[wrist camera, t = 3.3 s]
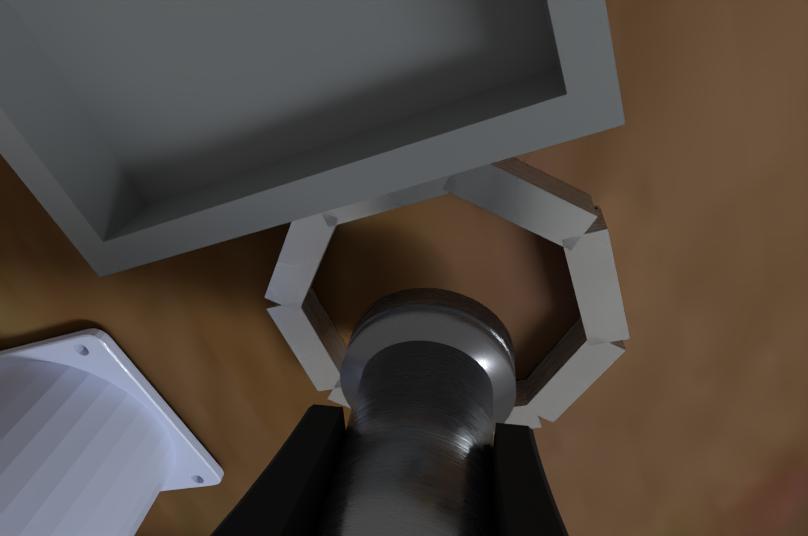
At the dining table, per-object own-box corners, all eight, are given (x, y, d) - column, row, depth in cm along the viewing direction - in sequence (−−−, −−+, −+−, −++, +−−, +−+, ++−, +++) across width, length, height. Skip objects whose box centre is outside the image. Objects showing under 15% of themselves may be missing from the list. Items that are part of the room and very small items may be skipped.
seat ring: (362, 426, 18) (355, 450, 17) (228, 203, 14) (211, 221, 13) (637, 387, 15) (644, 414, 15) (576, 92, 11) (583, 106, 10)
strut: (503, 418, 14) (509, 798, 8) (354, 399, 14) (254, 746, 8) (526, 297, 12) (560, 702, 6) (348, 279, 12) (205, 638, 6)
